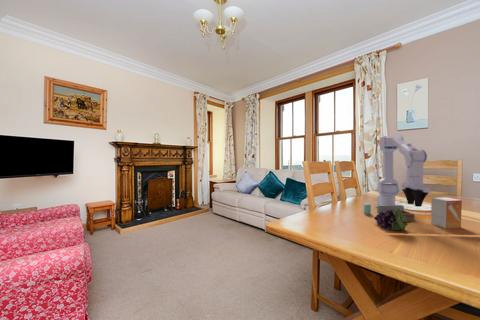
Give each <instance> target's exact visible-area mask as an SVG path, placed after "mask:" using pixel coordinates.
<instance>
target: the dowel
mask: <svg viewBox="0 0 480 320" xmlns="http://www.w3.org/2000/svg"><path fill="white" fill-rule="evenodd" d="M371 211H372V204H371V203H366V202H365V203H363V214H364V215H371V214H372V212H371Z"/></svg>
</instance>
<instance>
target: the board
mask: <svg viewBox="0 0 480 320" xmlns="http://www.w3.org/2000/svg"><path fill="white" fill-rule="evenodd" d="M376 206H377V207H376V213H377V214H379V213H380V212H383V213H384V214H385V213H386V211H387V210H394V209H395V210H398V209H400V210H404V211H405V209H404V208H405V206H404V205H401V204H399V205H398V204H395V205H377V204H376Z"/></svg>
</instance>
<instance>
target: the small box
mask: <svg viewBox="0 0 480 320" xmlns="http://www.w3.org/2000/svg"><path fill="white" fill-rule="evenodd" d="M462 206H463V200H462V199H457V198H453V197H447V196H445V197H444V196H443V197H432V198H431V207H430V209H431V211H430V212H431V215H430V224H431V225H434V226H436V227H437V226H438V227H440V228H443V229H458V228H459V229H460V228H462V210H463V209H462Z"/></svg>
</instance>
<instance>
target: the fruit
mask: <svg viewBox="0 0 480 320" xmlns="http://www.w3.org/2000/svg"><path fill="white" fill-rule="evenodd" d="M373 219H374V220H375V221H376V223H377V224H378V225H379V226H380V227H385V228H386V230H389V231H396V232H397V231H400V230H401V231H402V232H404V231H406V227H407V226H408V225H409V224H412V221H408V220H407V218H406V217H405V215H404V213H402V212H401V210H400V209H398V210H397V211H396V210H395V209H394V210H387V211H386V213H383V212H380V213H377V214H376V216H374V218H373Z"/></svg>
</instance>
